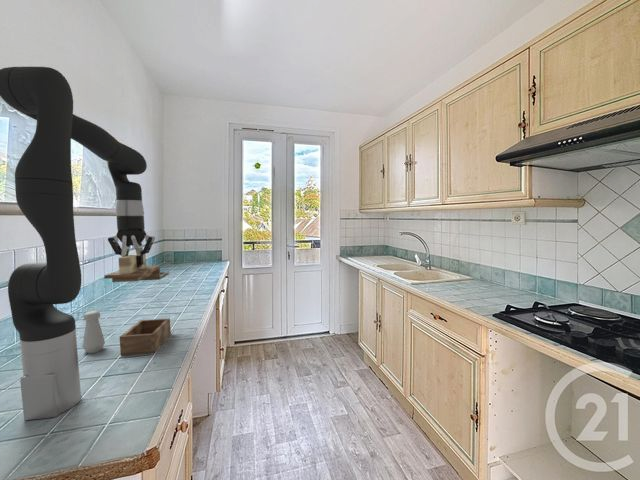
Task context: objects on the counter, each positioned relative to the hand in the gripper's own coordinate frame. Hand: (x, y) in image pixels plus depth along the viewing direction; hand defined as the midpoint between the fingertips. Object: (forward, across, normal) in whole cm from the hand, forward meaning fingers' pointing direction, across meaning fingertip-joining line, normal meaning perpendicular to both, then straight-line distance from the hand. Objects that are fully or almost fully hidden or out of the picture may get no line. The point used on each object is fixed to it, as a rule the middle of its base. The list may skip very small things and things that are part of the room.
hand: (133, 266), depth 96 cm
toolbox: (+27, +2, +1) cm, 27 cm away
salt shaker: (+27, -13, -1) cm, 30 cm away
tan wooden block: (+6, 0, +5) cm, 8 cm away
